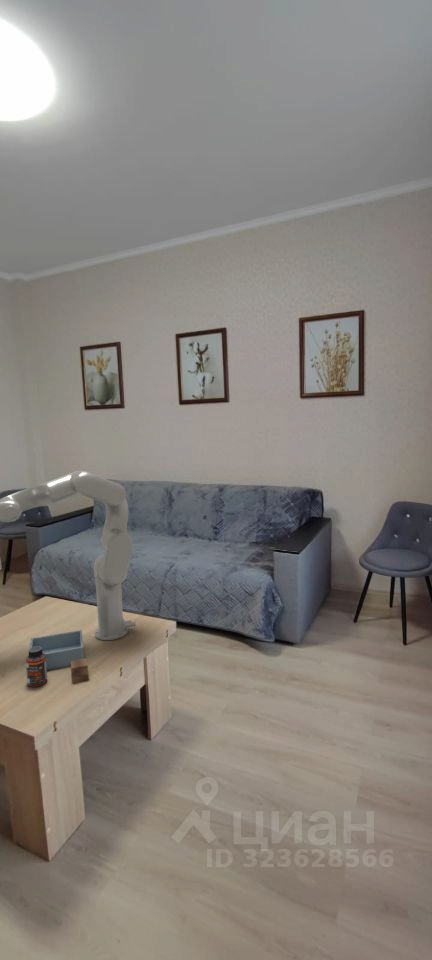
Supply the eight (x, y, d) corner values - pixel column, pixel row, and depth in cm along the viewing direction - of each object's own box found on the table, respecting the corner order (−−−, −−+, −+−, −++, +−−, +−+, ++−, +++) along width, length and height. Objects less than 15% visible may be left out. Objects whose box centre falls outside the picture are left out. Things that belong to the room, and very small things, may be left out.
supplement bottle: (27, 689, 142) (24, 655, 140) (27, 680, 147) (24, 646, 146) (48, 684, 144) (45, 650, 143) (46, 675, 150) (44, 642, 148)
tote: (82, 644, 170) (81, 630, 170) (84, 663, 157) (83, 647, 156) (32, 653, 165) (30, 638, 164) (29, 673, 151) (28, 657, 150)
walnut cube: (87, 672, 151) (86, 658, 150) (88, 680, 146) (87, 665, 146) (71, 675, 149) (70, 660, 149) (72, 683, 145) (71, 668, 144)
